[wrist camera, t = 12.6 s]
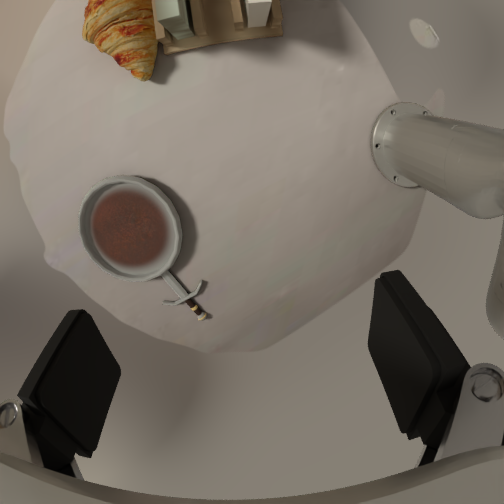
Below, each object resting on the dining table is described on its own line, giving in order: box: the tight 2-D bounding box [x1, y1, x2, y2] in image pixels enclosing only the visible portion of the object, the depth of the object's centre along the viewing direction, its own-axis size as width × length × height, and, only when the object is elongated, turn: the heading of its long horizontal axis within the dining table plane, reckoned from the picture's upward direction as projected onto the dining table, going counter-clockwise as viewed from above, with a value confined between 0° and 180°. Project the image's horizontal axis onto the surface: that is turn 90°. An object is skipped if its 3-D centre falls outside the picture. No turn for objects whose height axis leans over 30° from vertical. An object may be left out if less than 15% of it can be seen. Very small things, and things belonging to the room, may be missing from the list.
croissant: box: [82, 0, 159, 81], centre depth 26 cm, size 21×10×8 cm, turn 23°
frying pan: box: [78, 175, 207, 321], centre depth 43 cm, size 17×3×28 cm
